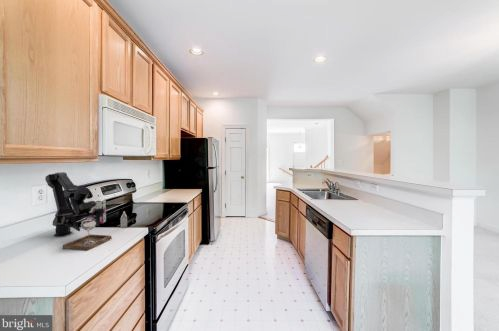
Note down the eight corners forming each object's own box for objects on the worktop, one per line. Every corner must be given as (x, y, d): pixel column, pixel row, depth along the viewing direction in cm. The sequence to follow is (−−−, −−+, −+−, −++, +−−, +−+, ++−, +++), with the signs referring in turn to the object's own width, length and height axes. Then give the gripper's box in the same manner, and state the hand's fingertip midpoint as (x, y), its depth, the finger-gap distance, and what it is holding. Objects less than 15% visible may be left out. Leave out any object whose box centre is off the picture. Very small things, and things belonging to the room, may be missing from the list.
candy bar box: (106, 221, 159) (106, 199, 159) (103, 223, 154) (103, 200, 154) (89, 222, 157) (89, 200, 156) (85, 224, 152) (85, 201, 151)
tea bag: (120, 228, 144) (120, 213, 144) (121, 225, 150) (121, 211, 150) (126, 227, 146) (126, 212, 146) (127, 224, 152) (127, 210, 152)
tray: (89, 237, 126) (89, 234, 126) (111, 239, 124) (111, 235, 124) (62, 248, 110) (62, 245, 110) (87, 250, 108) (87, 246, 108)
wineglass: (94, 243, 116) (94, 221, 115) (79, 245, 113) (78, 223, 113) (98, 239, 122) (97, 218, 121) (83, 241, 119) (83, 219, 119)
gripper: (63, 199, 110) (73, 223, 105) (102, 194, 127) (113, 215, 121) (56, 212, 114) (66, 236, 109) (95, 206, 131) (105, 227, 125)
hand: (89, 228), depth 116 cm, fingers open, 9 cm apart
